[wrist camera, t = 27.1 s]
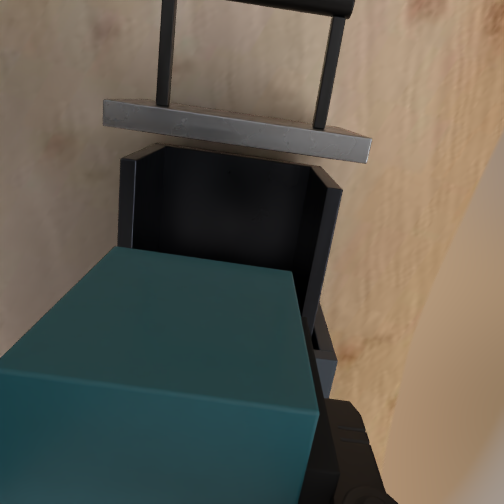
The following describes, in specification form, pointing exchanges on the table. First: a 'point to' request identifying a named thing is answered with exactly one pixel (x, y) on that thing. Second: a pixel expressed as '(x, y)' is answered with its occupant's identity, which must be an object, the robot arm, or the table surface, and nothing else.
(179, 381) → the block
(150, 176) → the drawer
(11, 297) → the table surface
